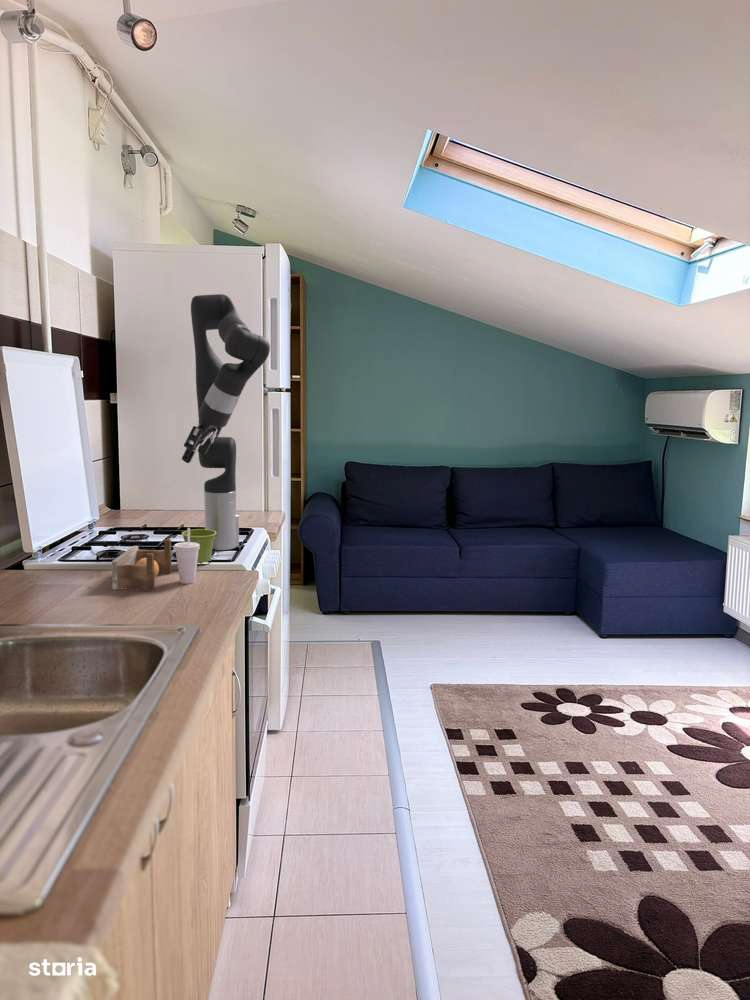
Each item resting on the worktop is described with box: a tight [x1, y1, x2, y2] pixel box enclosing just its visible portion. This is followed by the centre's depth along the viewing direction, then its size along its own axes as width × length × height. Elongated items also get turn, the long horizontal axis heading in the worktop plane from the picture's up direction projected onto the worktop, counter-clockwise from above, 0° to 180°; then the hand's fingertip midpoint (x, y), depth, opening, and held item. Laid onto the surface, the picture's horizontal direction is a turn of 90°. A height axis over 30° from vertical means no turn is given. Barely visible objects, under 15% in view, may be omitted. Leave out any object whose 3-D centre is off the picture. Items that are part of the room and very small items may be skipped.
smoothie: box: [173, 527, 200, 585], centre depth 205 cm, size 6×6×14 cm
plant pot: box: [181, 528, 216, 563], centre depth 225 cm, size 9×9×9 cm
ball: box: [136, 558, 159, 579], centre depth 206 cm, size 6×6×6 cm
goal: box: [111, 538, 173, 591], centre depth 206 cm, size 10×17×9 cm, turn 179°
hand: (193, 457), depth 207 cm, fingers open, 8 cm apart
